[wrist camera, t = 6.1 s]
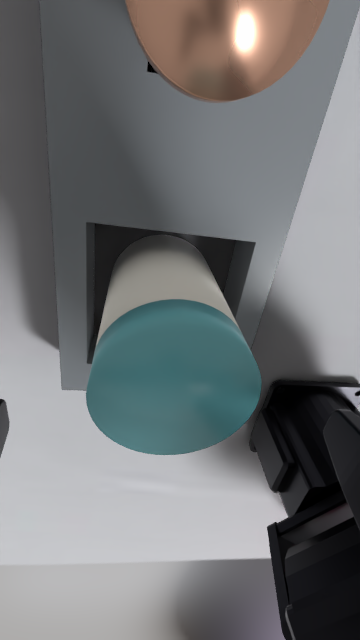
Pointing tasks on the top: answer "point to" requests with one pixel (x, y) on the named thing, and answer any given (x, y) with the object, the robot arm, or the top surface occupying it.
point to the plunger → (224, 42)
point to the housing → (170, 158)
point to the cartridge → (169, 354)
